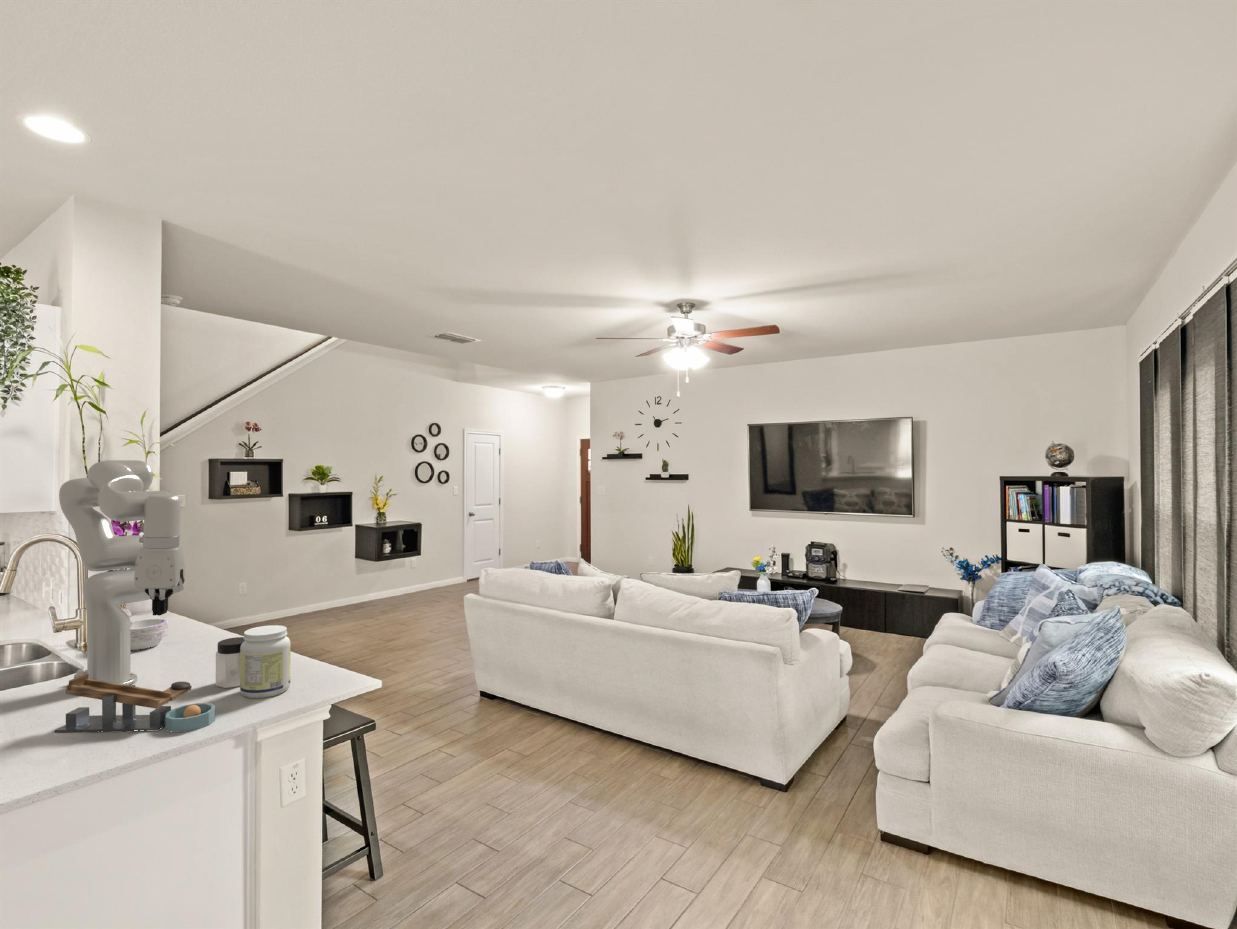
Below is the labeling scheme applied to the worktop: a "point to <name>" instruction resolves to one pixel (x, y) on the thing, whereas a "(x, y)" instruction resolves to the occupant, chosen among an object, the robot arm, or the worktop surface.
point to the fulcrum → (113, 718)
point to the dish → (190, 718)
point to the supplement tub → (265, 662)
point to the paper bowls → (147, 633)
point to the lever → (125, 692)
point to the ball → (192, 711)
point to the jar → (228, 662)
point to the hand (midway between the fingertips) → (159, 614)
